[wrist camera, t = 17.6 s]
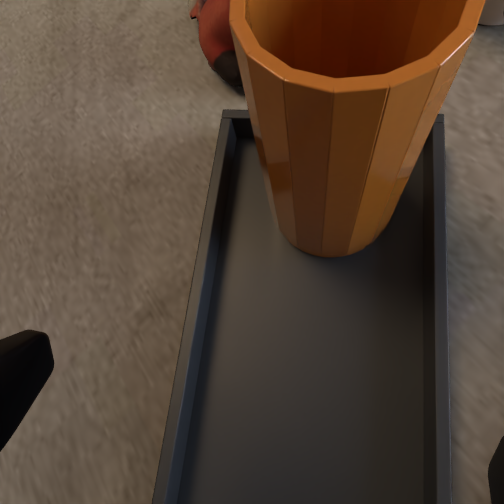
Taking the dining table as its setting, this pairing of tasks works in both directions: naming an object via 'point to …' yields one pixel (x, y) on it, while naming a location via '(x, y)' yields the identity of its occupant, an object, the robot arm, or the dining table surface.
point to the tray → (311, 352)
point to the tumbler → (344, 105)
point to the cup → (492, 13)
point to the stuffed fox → (217, 37)
